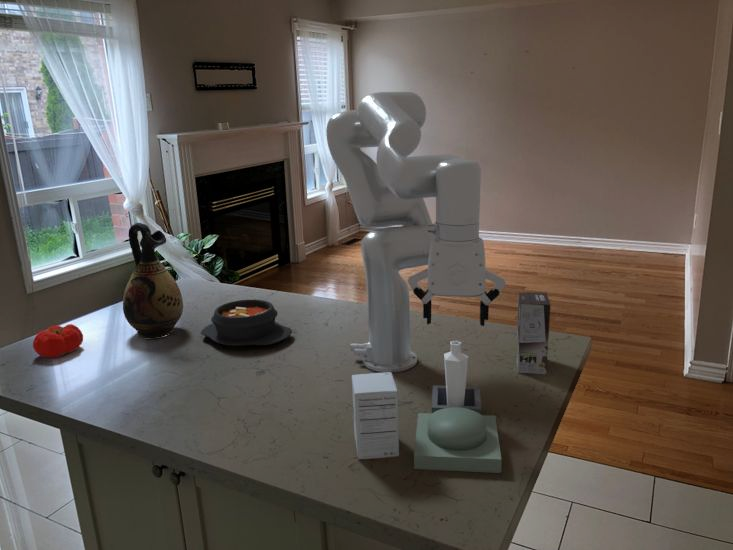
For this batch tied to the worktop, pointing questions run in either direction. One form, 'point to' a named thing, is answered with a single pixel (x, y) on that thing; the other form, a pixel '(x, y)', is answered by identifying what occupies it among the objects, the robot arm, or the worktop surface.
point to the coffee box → (532, 332)
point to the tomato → (57, 341)
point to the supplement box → (375, 415)
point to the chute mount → (457, 436)
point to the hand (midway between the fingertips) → (455, 322)
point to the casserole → (246, 324)
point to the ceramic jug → (150, 288)
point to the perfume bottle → (455, 374)
